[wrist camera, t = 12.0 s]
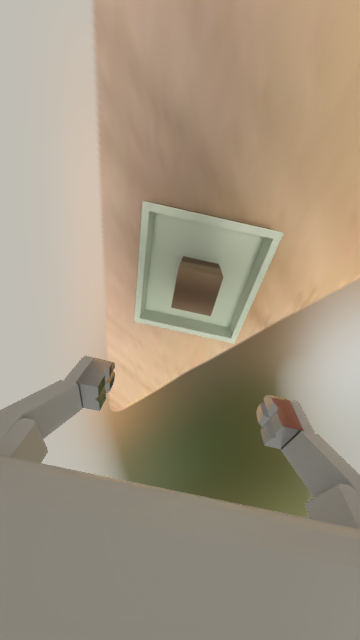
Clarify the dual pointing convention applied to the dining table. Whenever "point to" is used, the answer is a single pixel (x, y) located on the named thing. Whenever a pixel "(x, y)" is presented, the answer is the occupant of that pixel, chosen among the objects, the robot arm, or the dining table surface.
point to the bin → (208, 245)
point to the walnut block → (197, 286)
